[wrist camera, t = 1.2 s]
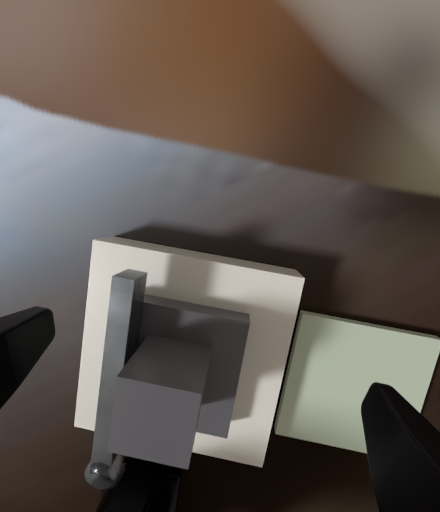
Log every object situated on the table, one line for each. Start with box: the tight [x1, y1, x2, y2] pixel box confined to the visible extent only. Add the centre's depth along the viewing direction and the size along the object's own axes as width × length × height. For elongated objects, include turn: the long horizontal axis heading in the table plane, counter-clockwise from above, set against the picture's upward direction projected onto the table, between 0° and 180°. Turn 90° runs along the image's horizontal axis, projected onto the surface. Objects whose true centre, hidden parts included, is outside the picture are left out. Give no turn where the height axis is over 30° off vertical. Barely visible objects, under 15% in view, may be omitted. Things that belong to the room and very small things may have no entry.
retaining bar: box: [85, 269, 148, 489], centre depth 17 cm, size 13×2×4 cm, turn 170°
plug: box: [107, 294, 250, 470], centre depth 17 cm, size 8×8×9 cm
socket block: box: [74, 236, 305, 467], centre depth 20 cm, size 14×14×3 cm
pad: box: [274, 310, 440, 453], centre depth 21 cm, size 10×10×1 cm
